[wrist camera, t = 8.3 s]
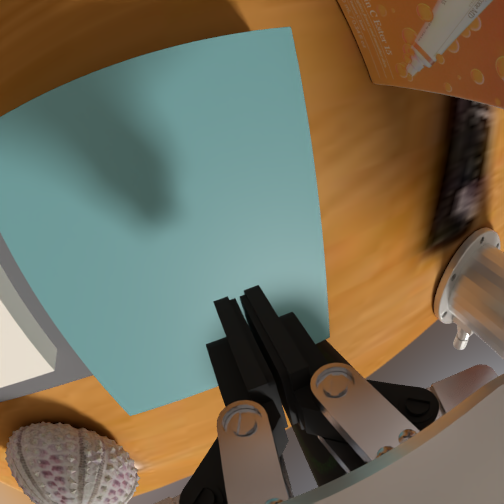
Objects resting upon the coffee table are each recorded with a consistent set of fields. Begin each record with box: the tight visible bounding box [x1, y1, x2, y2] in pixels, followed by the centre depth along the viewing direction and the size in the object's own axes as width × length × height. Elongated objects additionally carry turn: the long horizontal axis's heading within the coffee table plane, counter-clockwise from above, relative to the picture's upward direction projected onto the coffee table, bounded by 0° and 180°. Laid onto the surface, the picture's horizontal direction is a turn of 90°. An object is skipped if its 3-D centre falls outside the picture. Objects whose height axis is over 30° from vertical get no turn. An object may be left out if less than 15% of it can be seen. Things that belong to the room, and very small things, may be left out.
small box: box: [337, 0, 504, 109], centre depth 10 cm, size 8×6×13 cm
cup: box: [286, 340, 353, 487], centre depth 22 cm, size 8×8×12 cm
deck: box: [0, 27, 330, 416], centre depth 16 cm, size 18×14×4 cm
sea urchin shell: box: [5, 421, 140, 504], centre depth 20 cm, size 13×14×8 cm
